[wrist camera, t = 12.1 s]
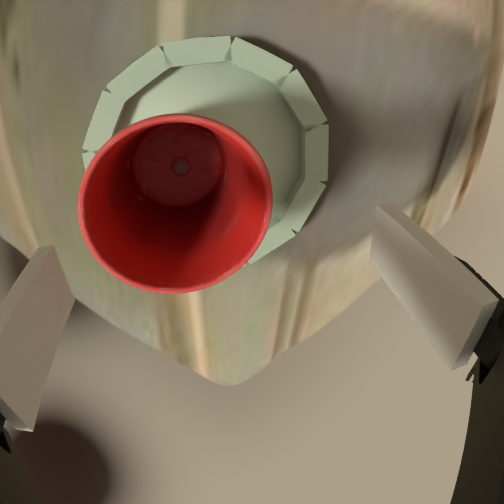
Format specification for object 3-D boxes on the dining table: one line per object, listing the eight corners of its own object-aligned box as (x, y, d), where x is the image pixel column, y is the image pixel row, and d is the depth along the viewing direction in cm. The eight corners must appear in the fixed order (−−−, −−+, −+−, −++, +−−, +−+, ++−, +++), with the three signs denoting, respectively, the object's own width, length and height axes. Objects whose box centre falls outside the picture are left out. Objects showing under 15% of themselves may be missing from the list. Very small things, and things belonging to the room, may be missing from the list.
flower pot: (265, 190, 27) (300, 250, 19) (152, 242, 28) (141, 318, 20) (215, 74, 21) (229, 77, 13) (90, 140, 22) (41, 182, 14)
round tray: (118, 271, 30) (114, 284, 28) (75, 62, 20) (66, 62, 18) (318, 246, 32) (325, 257, 30) (319, 36, 22) (329, 34, 20)
